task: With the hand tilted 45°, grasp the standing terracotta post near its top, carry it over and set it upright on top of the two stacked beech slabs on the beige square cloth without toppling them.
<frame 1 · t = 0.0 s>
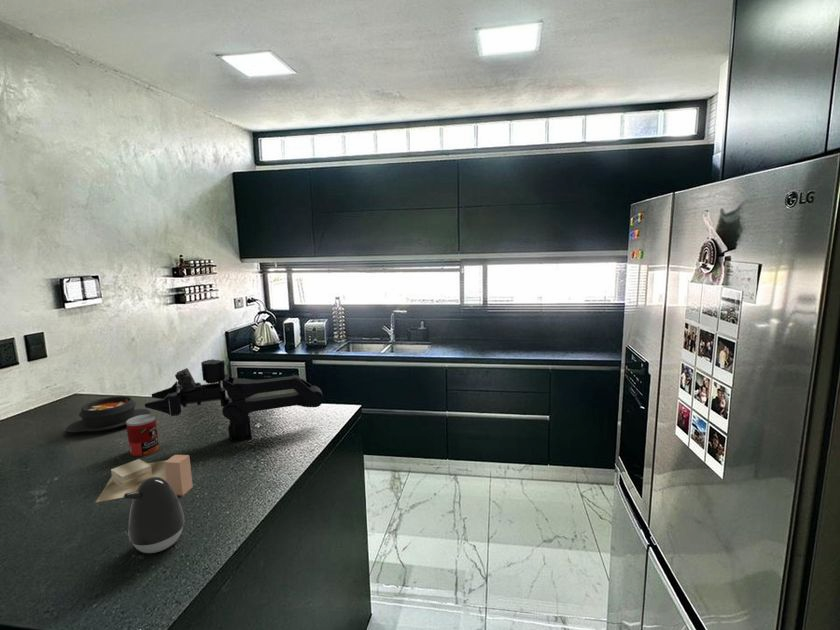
hand: (148, 400, 135), 17 cm above the counter, tool horizontal, fingers open, 9 cm apart
beige square cloth: (145, 479, 120), on the counter
canned food: (145, 452, 136), on the counter
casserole: (110, 425, 158), on the counter
slab bottom: (132, 479, 119), point 1 cm above the counter, touching beige square cloth, slab top
post: (181, 492, 113), on the counter
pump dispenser: (159, 545, 94), on the counter
slab top: (131, 473, 119), point 2 cm above the counter, touching slab bottom
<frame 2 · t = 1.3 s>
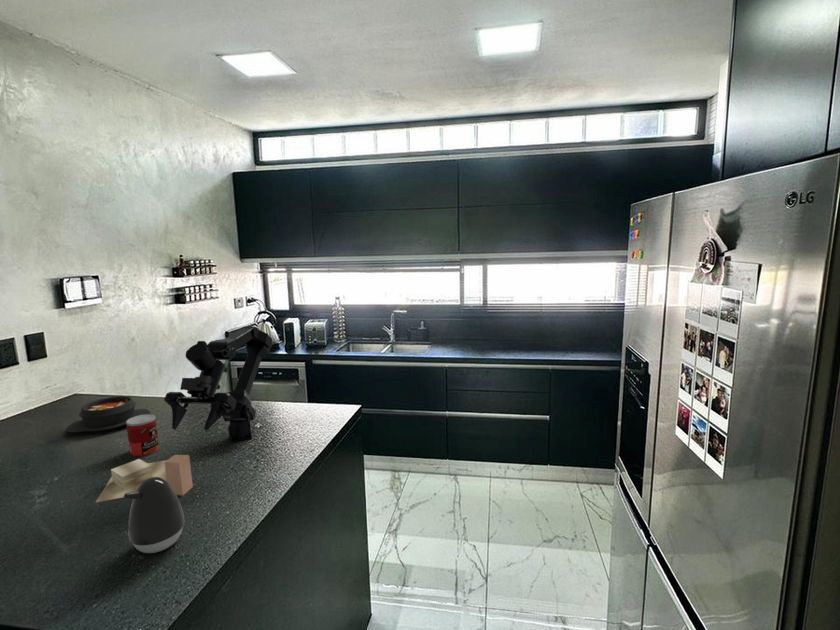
hand: (189, 429, 119), 14 cm above the counter, tool tilted 45°, fingers open, 9 cm apart
nothing on the counter moved.
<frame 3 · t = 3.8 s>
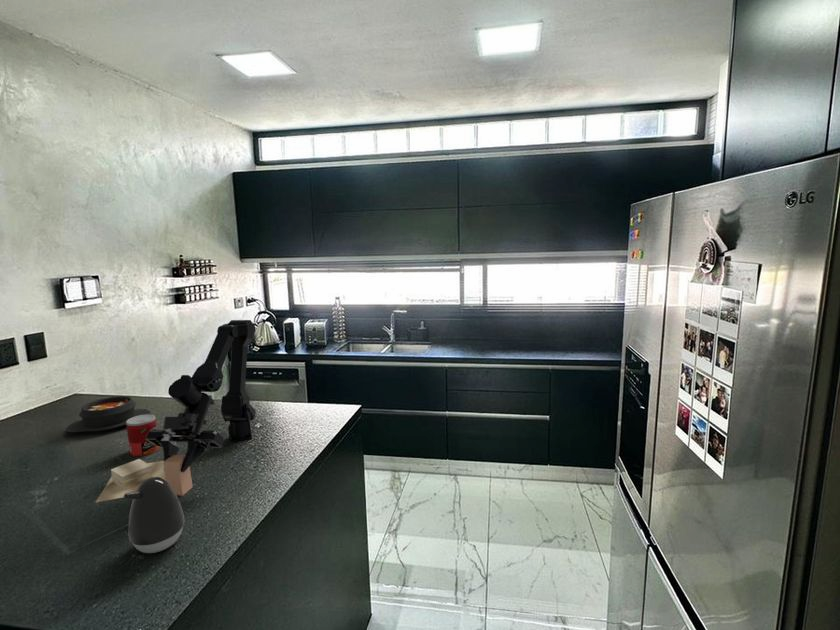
hand: (173, 471, 111), 7 cm above the counter, tool tilted 45°, fingers closed on post, 4 cm apart
post: (181, 492, 113), on the counter, touching gripper
everything else where it was.
when the fingers open (12 cm above the counter, at t = 8.8 s): post stays where it is, resting on slab top.
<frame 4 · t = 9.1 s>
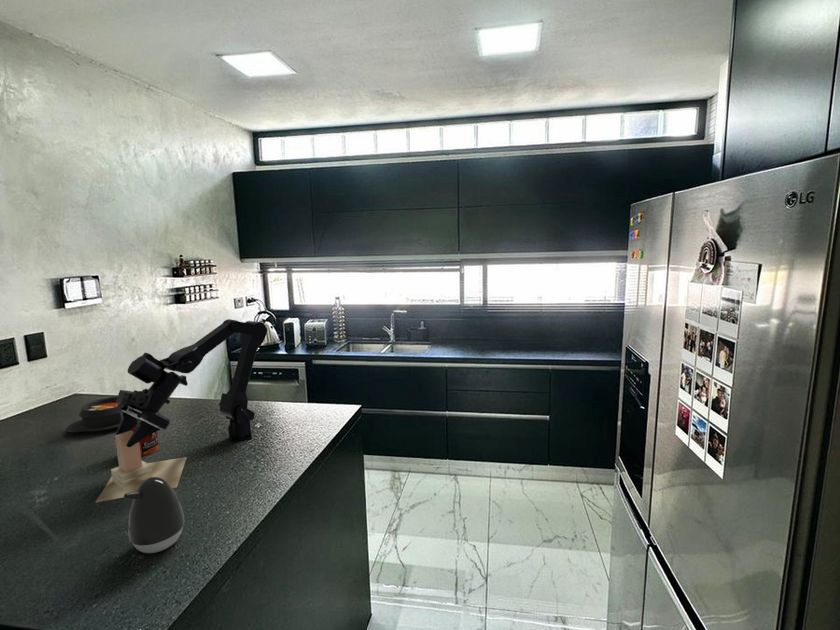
hand: (121, 443, 116), 12 cm above the counter, tool tilted 45°, fingers open, 7 cm apart
post: (130, 467, 118), point 4 cm above the counter, touching slab top
slab top: (131, 473, 119), point 2 cm above the counter, touching post, slab bottom
everything else where it was.
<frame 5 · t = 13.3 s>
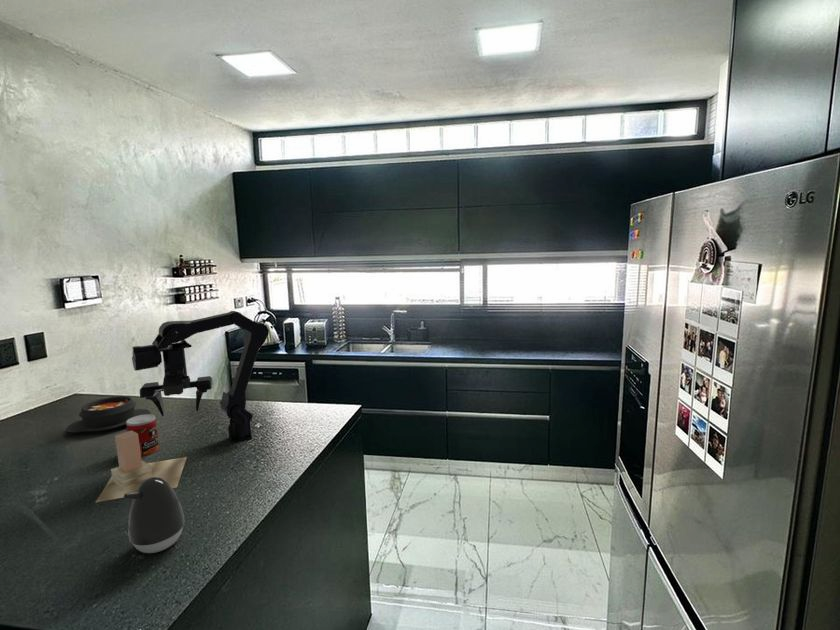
hand: (180, 413, 133), 13 cm above the counter, tool pointing down, fingers open, 9 cm apart
nothing on the counter moved.
at the end: post 0.2 cm off-centre on the slab top, point 1.8 cm above the slab top's base; post tilted 0°; slab top moved 0.0 cm from its start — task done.
